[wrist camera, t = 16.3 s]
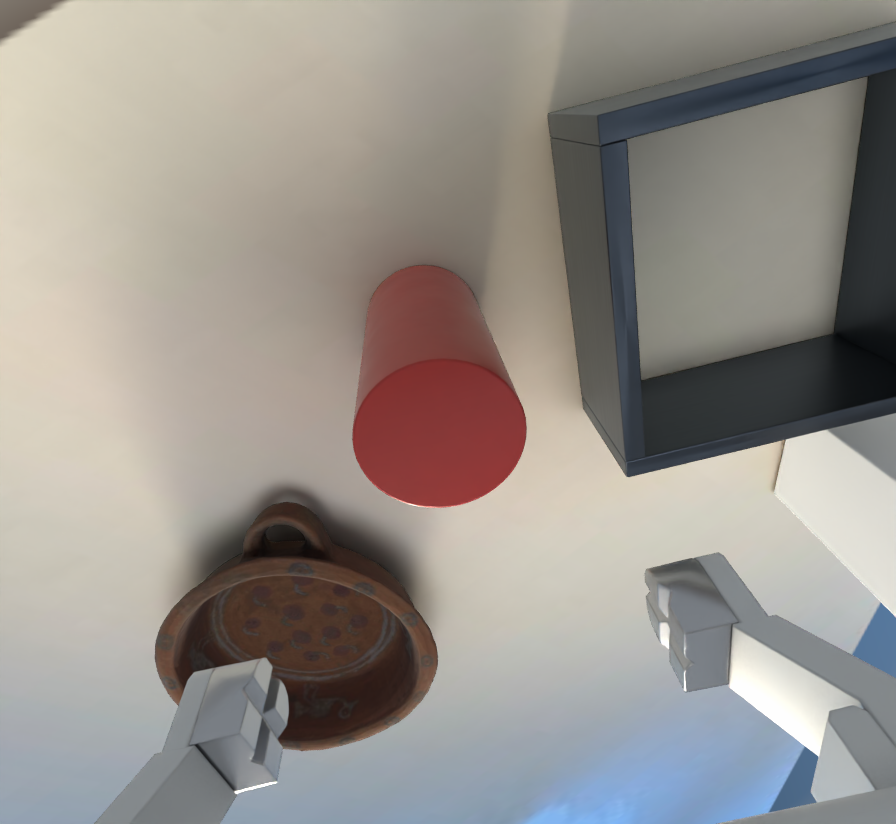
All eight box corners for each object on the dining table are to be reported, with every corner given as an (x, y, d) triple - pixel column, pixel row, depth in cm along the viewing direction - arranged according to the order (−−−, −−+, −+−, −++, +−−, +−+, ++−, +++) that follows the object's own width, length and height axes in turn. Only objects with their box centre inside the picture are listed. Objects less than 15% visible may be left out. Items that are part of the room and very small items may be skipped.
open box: (547, 113, 25) (597, 115, 19) (897, 20, 24) (1066, -9, 18) (583, 409, 33) (626, 478, 27) (848, 344, 32) (954, 399, 26)
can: (352, 280, 28) (327, 384, 17) (466, 251, 27) (511, 339, 17) (385, 383, 31) (381, 524, 20) (488, 357, 30) (538, 487, 20)
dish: (432, 478, 34) (438, 532, 30) (432, 696, 45) (437, 759, 41) (143, 491, 33) (105, 549, 28) (215, 712, 43) (195, 780, 39)
